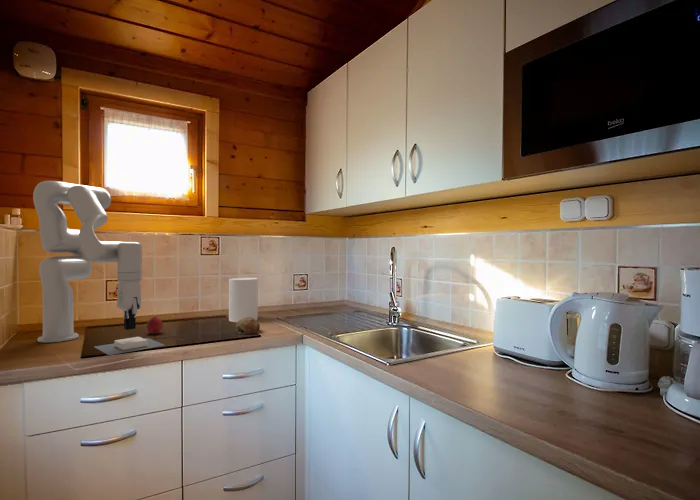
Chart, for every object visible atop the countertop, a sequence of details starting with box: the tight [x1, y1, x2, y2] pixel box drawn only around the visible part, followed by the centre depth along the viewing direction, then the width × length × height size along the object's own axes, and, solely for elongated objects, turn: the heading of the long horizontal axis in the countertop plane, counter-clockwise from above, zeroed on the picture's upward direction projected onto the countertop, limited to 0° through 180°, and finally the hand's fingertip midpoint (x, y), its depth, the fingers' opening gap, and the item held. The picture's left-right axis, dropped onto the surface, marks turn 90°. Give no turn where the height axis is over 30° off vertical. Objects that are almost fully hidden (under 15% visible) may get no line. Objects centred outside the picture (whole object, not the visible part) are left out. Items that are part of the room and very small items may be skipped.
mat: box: [93, 337, 165, 356], centre depth 140 cm, size 16×18×1 cm
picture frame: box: [114, 336, 148, 350], centre depth 139 cm, size 2×8×8 cm
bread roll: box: [235, 317, 261, 335], centre depth 167 cm, size 10×10×8 cm
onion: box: [146, 314, 164, 335], centre depth 160 cm, size 6×6×8 cm
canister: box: [228, 277, 259, 323], centre depth 194 cm, size 14×14×20 cm
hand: (129, 328), depth 140 cm, fingers closed
